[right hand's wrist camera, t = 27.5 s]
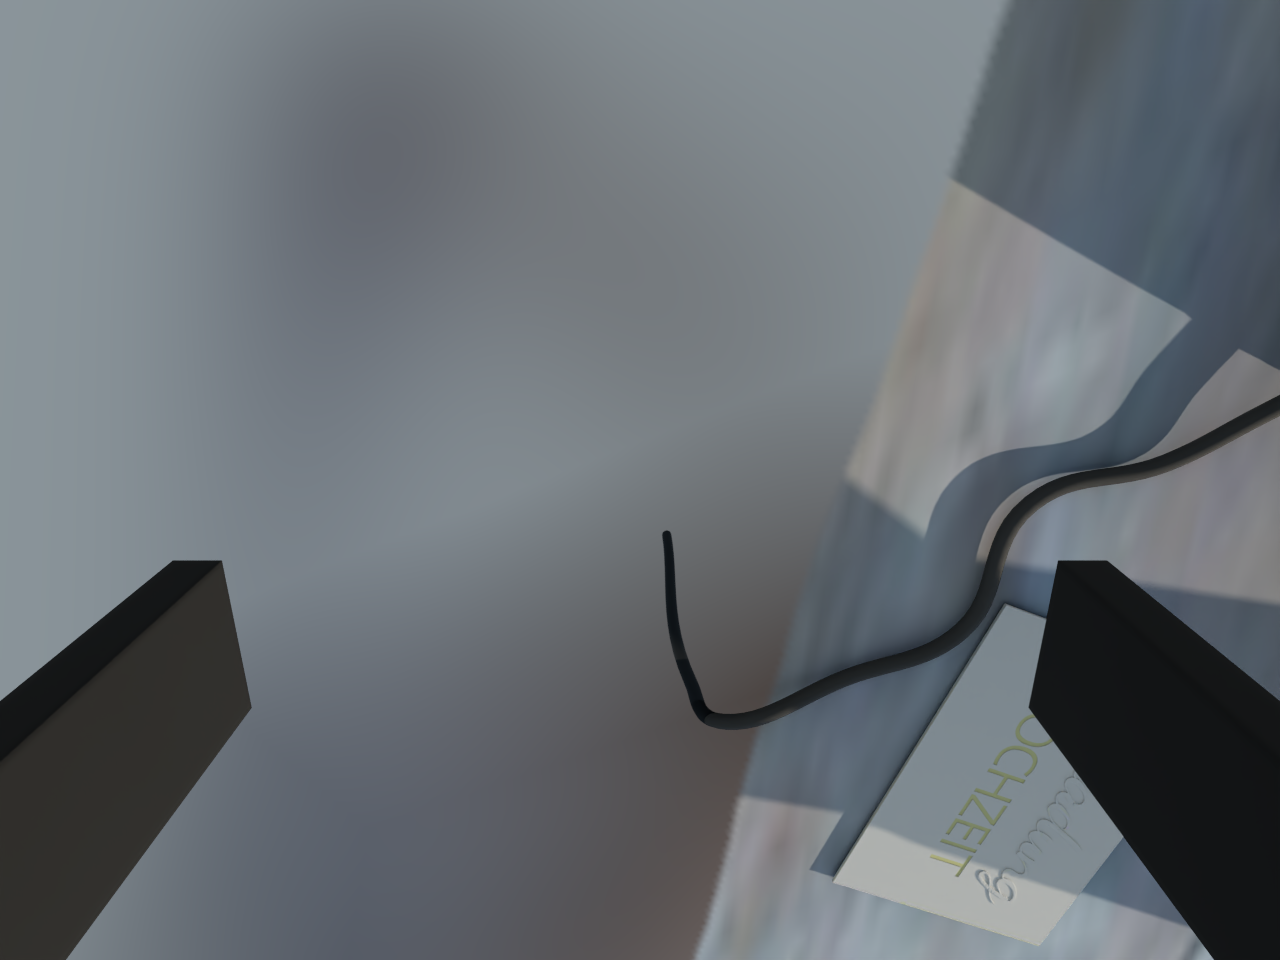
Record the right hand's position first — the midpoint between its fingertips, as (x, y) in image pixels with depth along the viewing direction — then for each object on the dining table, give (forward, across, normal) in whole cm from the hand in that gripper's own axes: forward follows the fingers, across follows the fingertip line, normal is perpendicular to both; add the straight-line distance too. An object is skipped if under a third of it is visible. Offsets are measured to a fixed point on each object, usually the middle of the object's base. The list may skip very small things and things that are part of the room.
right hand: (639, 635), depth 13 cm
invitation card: (+28, -23, +28) cm, 45 cm away
